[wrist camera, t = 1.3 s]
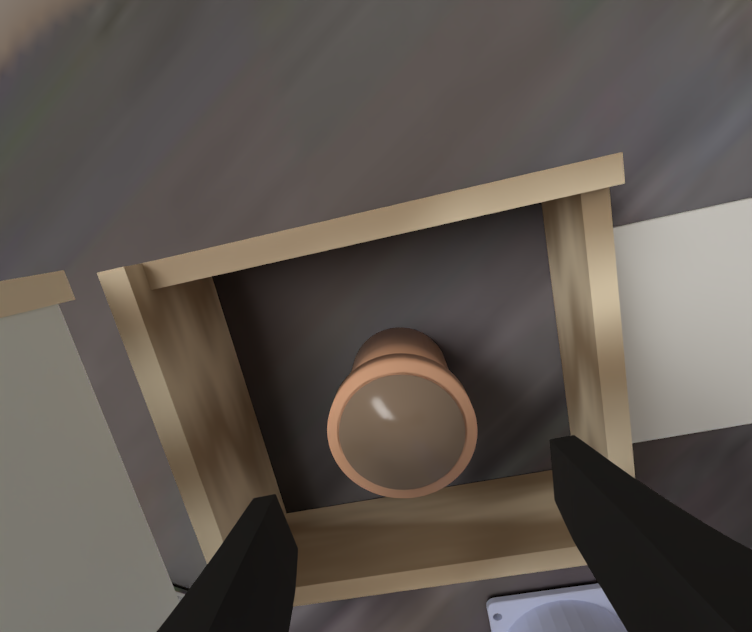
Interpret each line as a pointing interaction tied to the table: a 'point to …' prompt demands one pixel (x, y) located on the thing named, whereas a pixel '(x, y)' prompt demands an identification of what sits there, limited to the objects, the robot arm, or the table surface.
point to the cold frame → (384, 515)
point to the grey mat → (687, 320)
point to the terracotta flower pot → (401, 417)
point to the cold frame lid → (65, 485)
